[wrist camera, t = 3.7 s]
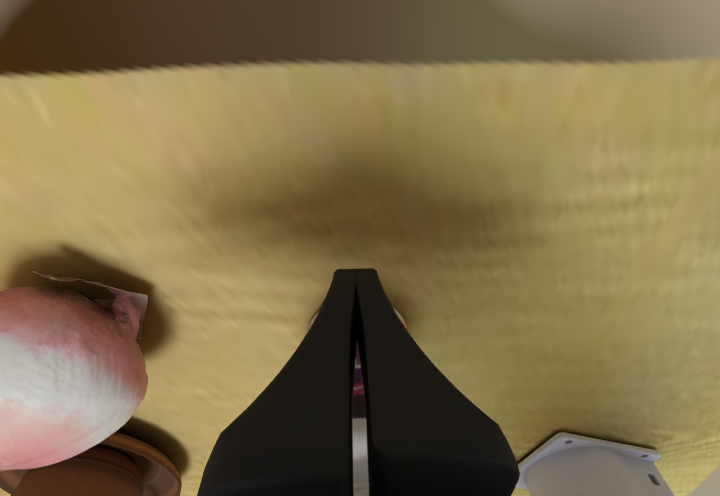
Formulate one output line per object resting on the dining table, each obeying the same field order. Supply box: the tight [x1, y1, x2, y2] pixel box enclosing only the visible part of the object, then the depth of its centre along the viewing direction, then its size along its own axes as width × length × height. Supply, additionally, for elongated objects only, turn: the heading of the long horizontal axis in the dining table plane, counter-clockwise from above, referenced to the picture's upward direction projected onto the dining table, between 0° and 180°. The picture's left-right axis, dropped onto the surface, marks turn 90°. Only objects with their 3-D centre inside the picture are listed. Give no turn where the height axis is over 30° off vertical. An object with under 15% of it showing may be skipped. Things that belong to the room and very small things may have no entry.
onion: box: [0, 271, 148, 472], centre depth 16 cm, size 8×8×7 cm
